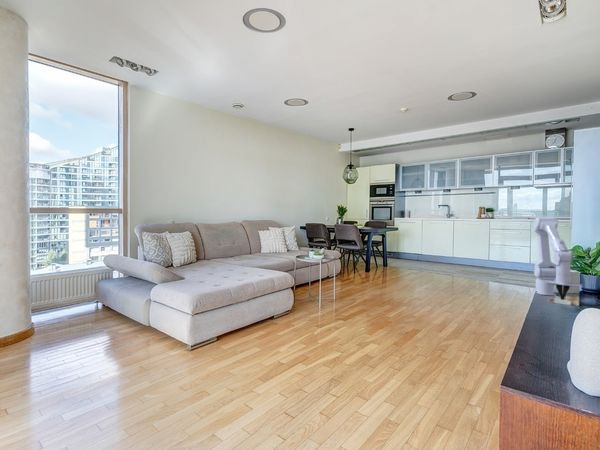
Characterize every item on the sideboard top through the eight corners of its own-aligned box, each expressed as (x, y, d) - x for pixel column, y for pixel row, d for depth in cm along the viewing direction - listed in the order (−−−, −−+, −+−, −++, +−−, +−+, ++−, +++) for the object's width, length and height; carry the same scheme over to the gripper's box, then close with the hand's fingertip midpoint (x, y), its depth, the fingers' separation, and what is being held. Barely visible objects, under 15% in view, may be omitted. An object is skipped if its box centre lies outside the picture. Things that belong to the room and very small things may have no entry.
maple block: (565, 303, 159) (565, 296, 159) (566, 302, 162) (566, 294, 162) (578, 305, 155) (578, 297, 155) (578, 303, 158) (579, 296, 158)
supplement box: (569, 290, 185) (570, 269, 184) (579, 293, 177) (580, 271, 177) (556, 290, 185) (556, 269, 185) (565, 293, 178) (566, 271, 178)
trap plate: (547, 301, 163) (547, 301, 163) (548, 299, 168) (548, 298, 168) (554, 302, 161) (554, 302, 161) (554, 299, 166) (554, 299, 166)
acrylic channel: (554, 302, 161) (554, 298, 161) (555, 299, 166) (555, 296, 166) (570, 305, 157) (570, 301, 156) (571, 302, 161) (571, 298, 161)
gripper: (544, 273, 163) (544, 298, 163) (581, 277, 153) (581, 304, 153) (545, 271, 168) (545, 296, 168) (582, 274, 158) (581, 301, 158)
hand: (562, 299), depth 161 cm, fingers closed
